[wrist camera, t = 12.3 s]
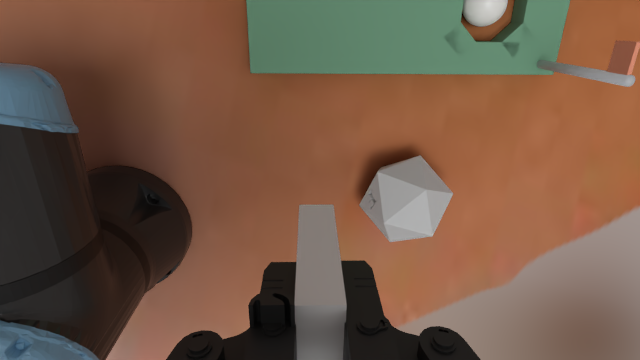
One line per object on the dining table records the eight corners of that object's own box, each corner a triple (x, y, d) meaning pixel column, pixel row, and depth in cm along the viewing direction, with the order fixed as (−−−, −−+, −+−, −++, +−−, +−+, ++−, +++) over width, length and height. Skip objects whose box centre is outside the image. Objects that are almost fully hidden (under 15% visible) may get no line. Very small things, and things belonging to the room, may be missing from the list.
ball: (490, 26, 35) (512, 26, 37) (497, -24, 33) (519, -21, 36) (451, 27, 38) (473, 26, 40) (455, -20, 36) (478, -18, 38)
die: (407, 130, 44) (363, 166, 37) (476, 176, 41) (444, 224, 34) (377, 182, 50) (334, 222, 42) (437, 225, 47) (402, 275, 40)
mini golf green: (253, 70, 40) (227, 93, 27) (246, -65, 36) (211, -114, 23) (539, 71, 41) (645, 95, 28) (567, -61, 37) (709, -105, 24)
